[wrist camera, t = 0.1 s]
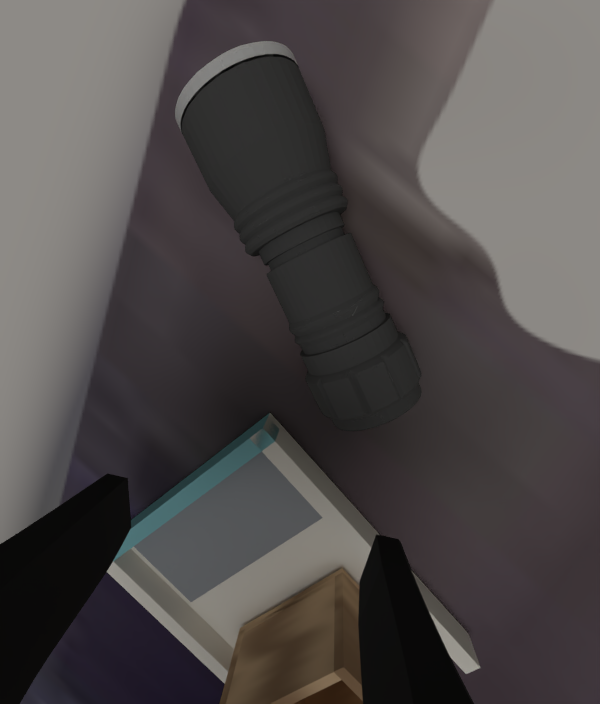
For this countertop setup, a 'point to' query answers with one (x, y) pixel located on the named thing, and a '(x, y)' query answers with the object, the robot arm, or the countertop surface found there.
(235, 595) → the tray
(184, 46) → the countertop surface
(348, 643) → the crate
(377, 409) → the flashlight
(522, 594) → the countertop surface
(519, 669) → the countertop surface
